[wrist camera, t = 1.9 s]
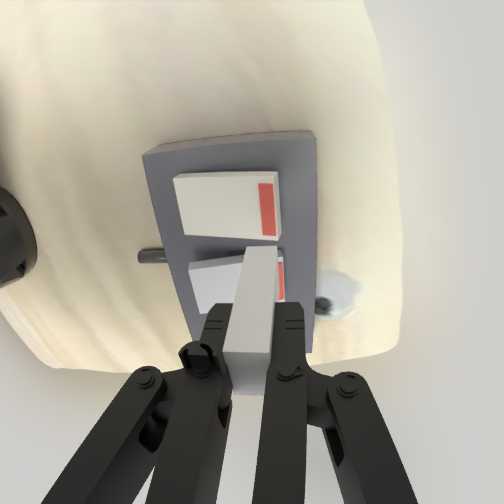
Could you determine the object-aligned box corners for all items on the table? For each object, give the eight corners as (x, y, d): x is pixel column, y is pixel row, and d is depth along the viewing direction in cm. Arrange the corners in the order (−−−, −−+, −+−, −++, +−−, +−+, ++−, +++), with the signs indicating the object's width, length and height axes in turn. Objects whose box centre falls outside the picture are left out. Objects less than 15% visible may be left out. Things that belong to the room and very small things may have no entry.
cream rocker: (191, 228, 26) (183, 235, 25) (180, 173, 23) (171, 179, 22) (281, 233, 23) (277, 242, 22) (277, 171, 21) (273, 177, 20)
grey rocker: (200, 305, 28) (199, 315, 27) (189, 262, 26) (188, 271, 24) (282, 293, 29) (285, 303, 27) (280, 249, 26) (283, 258, 25)
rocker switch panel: (168, 327, 39) (158, 353, 35) (115, 153, 27) (91, 167, 23) (310, 328, 37) (312, 357, 33) (310, 130, 24) (316, 140, 20)
